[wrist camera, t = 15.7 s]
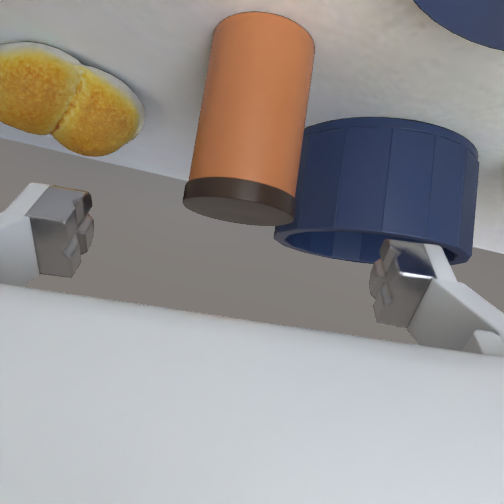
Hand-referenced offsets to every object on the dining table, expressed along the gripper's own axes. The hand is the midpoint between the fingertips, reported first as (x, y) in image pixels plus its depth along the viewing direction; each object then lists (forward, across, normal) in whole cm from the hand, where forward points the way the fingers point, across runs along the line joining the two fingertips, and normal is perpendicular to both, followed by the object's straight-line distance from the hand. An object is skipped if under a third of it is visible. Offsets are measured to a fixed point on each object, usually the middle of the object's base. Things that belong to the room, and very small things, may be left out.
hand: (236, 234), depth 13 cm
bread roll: (+17, +11, +2) cm, 20 cm away
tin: (+20, -9, +6) cm, 22 cm away
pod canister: (+12, 0, -2) cm, 12 cm away
